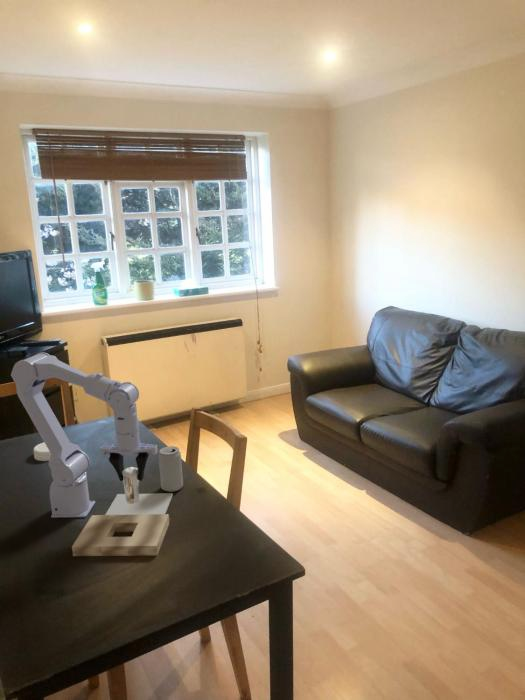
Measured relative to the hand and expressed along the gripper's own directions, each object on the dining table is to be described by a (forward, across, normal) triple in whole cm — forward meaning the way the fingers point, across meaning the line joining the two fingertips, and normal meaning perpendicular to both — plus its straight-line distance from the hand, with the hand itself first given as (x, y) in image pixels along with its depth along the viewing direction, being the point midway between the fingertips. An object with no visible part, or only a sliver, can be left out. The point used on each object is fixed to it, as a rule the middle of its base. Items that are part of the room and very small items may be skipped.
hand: (131, 479), depth 143 cm
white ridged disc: (+11, -40, +39) cm, 57 cm away
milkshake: (+6, 0, -1) cm, 6 cm away
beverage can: (+11, +7, +15) cm, 19 cm away
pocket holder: (+10, 0, -11) cm, 15 cm away
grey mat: (+10, 0, +5) cm, 11 cm away
